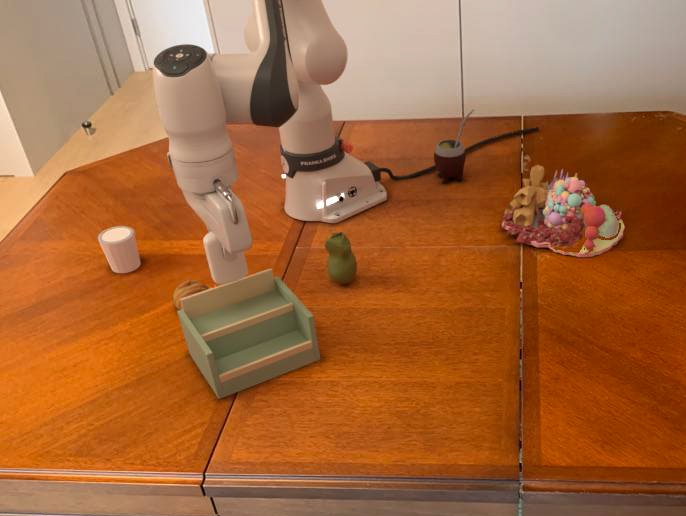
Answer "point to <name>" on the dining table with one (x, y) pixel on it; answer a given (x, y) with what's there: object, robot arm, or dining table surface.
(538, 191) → the pastel sphere sculpture
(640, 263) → the dining table surface
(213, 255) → the eye dropper bottle
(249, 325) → the spice rack
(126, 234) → the white short cylinder
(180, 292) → the pastry
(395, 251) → the dining table surface
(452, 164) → the mate gourd
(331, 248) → the pear
